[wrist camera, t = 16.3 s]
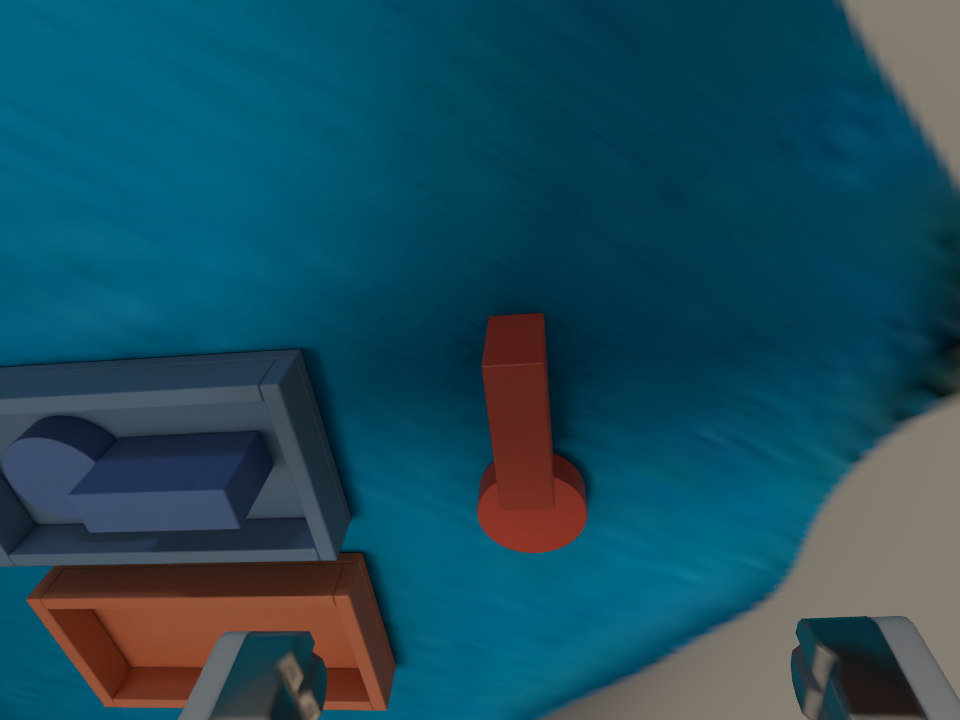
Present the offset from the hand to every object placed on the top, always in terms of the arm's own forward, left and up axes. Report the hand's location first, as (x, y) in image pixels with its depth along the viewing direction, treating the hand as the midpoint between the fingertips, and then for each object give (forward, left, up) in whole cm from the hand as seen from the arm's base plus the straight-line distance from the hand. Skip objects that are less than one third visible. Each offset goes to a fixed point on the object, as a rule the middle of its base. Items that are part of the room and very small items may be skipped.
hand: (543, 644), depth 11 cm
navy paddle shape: (+3, -14, -9) cm, 16 cm away
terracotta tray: (+12, -14, -10) cm, 20 cm away
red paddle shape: (+3, -1, -10) cm, 10 cm away
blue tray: (+3, -14, -10) cm, 17 cm away
